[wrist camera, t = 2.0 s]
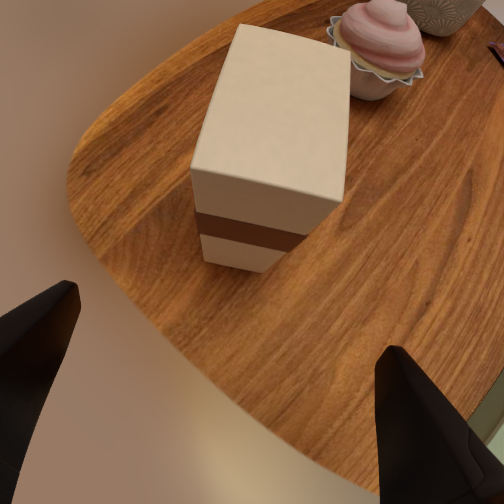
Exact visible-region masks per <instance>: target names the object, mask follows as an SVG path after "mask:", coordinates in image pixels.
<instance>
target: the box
mask: <svg viewBox="0 0 504 504" xmlns="http://www.w3.org/2000/svg"><path fill="white" fill-rule="evenodd" d="M467 424H468V425H469V427H471V428H472V430H473V431H474V432H475V433H476V435H477V436H478V437H479V438H480V439H481V441H482V442H483V443H484V444H485V445H486V447H487V448H488V449H489V450H490V451H491V452H492V453H493V454H494V455H495V456H496V457H497V459H498V460H499V461H500V462H501V463H502V464H503V465H504V369H503V371H502V372H501V374H500V375H499V377H498V379H497V380H496V382H495V383H494V385H493V386H492V388H491V389H490V391H489V392H488V394H487V395H486V396H485V398H484V399H483V401H482V402H481V403H480V405H479V406H478V408H477V409H476V410H475V412H474V413H473V414H472V416H471V417H470V418H469V420H468V421H467Z"/></svg>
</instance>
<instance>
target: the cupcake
mask: <svg viewBox="0 0 504 504" xmlns="http://www.w3.org/2000/svg"><path fill="white" fill-rule="evenodd" d="M330 23H331V26H329V27H327V30H326V31H327V37H328V43H329V45H332V46H335V47H338V48H341V49H345V50H348V51H350V52H351V72H350V95H351V96H353V97H356V98H359V99H362V100H368V101H373V100H379V99H382V98H384V97H386V96H387V95H389V94H390V93H392V92H393V91H394V90H395V89H397V88H402V87H407V86H411V85H412V81H413V80H416V79H419V78H422V77H423V74H422V72H421V70H420V68H419V67H420V66H421V65H422V64H423V61H424V58H425V49H424V45H423V43H422V39H421V33H420V31H419V29H418V27H417V25H416V24H415V22H414V21H413V20H412V19H411V17H410V16H409V15H408V14H407V5H406V4H405V3H401V2H397V1H395V0H372V1H370V2H369V3H359V4H355V5H353V6H351V7H350V8H349V9H348V10H347V11H346V12H344V14H343V16H342V17H340V16H333V17H331V18H330Z"/></svg>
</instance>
